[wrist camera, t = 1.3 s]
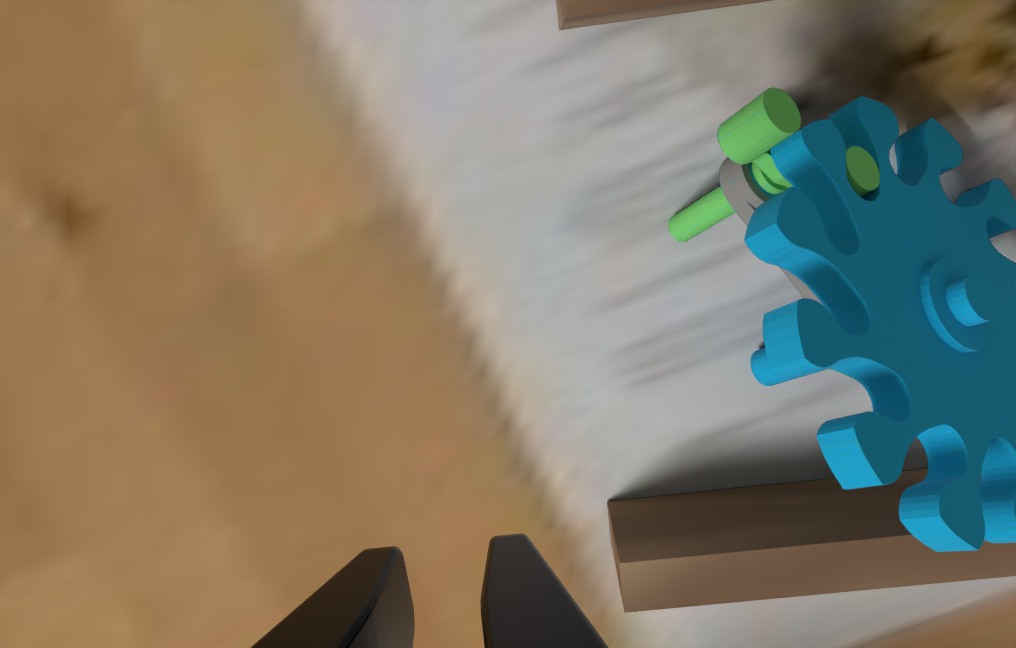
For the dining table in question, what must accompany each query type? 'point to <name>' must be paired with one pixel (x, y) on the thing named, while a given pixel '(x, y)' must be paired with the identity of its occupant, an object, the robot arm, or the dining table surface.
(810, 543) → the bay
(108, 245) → the dining table surface
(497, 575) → the robot arm
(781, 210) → the gear
